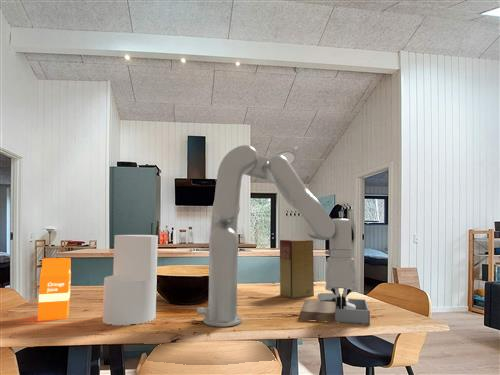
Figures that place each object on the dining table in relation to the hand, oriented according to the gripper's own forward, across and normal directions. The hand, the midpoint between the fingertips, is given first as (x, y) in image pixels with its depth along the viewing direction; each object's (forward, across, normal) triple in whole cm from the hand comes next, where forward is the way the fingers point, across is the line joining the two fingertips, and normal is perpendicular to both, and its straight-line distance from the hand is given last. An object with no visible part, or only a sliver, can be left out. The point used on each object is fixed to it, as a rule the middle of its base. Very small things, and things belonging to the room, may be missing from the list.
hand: (341, 308), depth 127 cm
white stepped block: (+4, -70, -17) cm, 73 cm away
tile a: (+1, 0, +10) cm, 10 cm away
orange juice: (+4, -96, -22) cm, 99 cm away
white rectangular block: (0, +1, 0) cm, 1 cm away
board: (+4, -8, +5) cm, 10 cm away
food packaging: (+4, -19, +38) cm, 43 cm away
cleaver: (+5, -4, +31) cm, 32 cm away
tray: (+4, +4, +5) cm, 7 cm away
